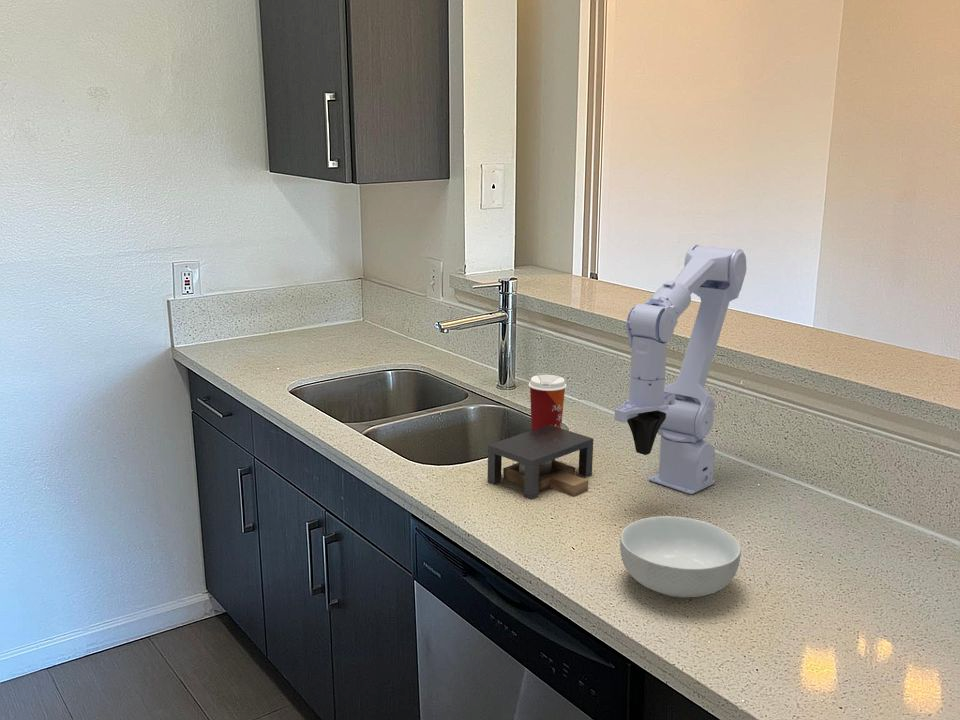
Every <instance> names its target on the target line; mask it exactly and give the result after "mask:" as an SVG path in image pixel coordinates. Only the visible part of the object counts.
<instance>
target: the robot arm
mask: <svg viewBox="0 0 960 720" xmlns="http://www.w3.org/2000/svg"><path fill="white" fill-rule="evenodd" d="M683 264H684V267H683V268H682V270H681V271H680V273H678V275H677V276H676V278H675V279H674V280H666V281H665V282H663V284H662V285H661V286H660V287H659V288H658V289H657V290H656V291H655V292H654V293H653V294H652V295H651V296H650V297H649V299H648V300H646V301H645V303H637V304H636V305H634V306H632V307H631V308H630V310H629V312H628V314H627V317H626V322H625V332H626V334H627V338H628V343H627V344H628V346H629V348H630V349H631V354H630V371H629V373H630V376H629V390H628V391H629V394H628V399H627V400H626V401H624V403H622V404H621V405H620V406H619V407H617V408H614V421H617V422H621V423H624V424H625V423H627V424H628V427H629V429H630V431H631V434H632V438H633V443H634V448H635V453H638V454H640V455H644V456H647V455H650V454H651V452H652V449H653V446H654V443H655V440H656V436H657V435H659V436H660V443H659V444H660V445H659V447H660V448H659V461H658V473H656V474H654V475H651V476H649V477H648V481H650V482H653V483H655V484H659V485H661V486H662V485H663V486H664V487H668V488H671V489H674V490H676V491H679V492H682V493H686V494H688V495H693V494H696V493H697V492H700V491H702V490H704V489H706V488H708V487H710V486H712V485H714V484H715V483H716V480H714V468H715V456H716V452H715V448H714V445H713V444H712V443H710V442H707V441H706V440H704V439H705V438H706V437H707V436H708V435H709V433H710V432H711V429H712V428H713V427H712V426H713V423H714V414H715V407H716V402H715V399H714V398H713V396H712V395H711V394H710V393H709V391H708V390H707V389H706V388H705V386H706V383H707V380H708V379H707V378H708V375H709V373H710V369H711V366H712V363H713V360H714V356H715V355H714V354H715V352H716V348H717V345H718V342H719V338H720V336H721V335H720V334H721V331H722V328H723V325H724V323H725V318H726V314H727V311H728V309H729V305H730V302H732V301H734V300H737V299H738V298H739V296H740V292H741V290H742V287H743V283H744V280H745V277H746V273H747V256H746V254H745V252H744V250H743V249H741V248H736V249H733V248H723V247H714V246H713V247H712V246H702V245H699V244H693V245H692V246H690V248H689V249H688V250H687V252H686V254H685V257H684V263H683ZM692 294H694V295H696V296H697V297H699V299H700V303H699V308H698V311H697V315H696V317H695V321H694V324H693V327H692V330H691V335H690V338H689V341H688V344H687V347H686V351H685V354H684V357H683V359H682V365H681V366H680V367H681V368H680V370H679V374H678V377H677V379H676V380H675V381H672V382H671V383H669V384H667V385H665V384H666V383H665V382H666V381H665V380H666V367H667V365H666V363H667V350H668V349H667V348H668V341H670V340H671V339H672V336H673V335H674V331H675V329H676V326H678V325H677V324H678V319H679V317H681V316H682V314H683V313H684V312H685V311H686V310H687V309H688V308H689V306H690V305H691V301H692Z"/></svg>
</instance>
